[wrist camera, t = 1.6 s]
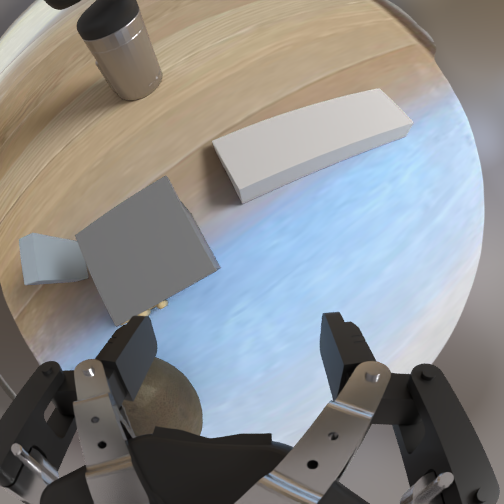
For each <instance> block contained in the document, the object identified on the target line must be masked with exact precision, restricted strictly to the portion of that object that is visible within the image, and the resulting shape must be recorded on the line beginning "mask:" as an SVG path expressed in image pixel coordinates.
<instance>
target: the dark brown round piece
mask: <svg viewBox="0 0 504 504" xmlns="http://www.w3.org/2000/svg"><path fill="white" fill-rule="evenodd" d="M122 405H123V407H124V409H125V412H126V414H127V417H128V419H129V422H130V424H131V427H132V429H133V431H134V434H135V436H136V437H137V436H141V435H145V434H153V432H154V429H155V426H158V427H164V428H171V429H179V430H184V431H187V432H190V433H193V434H196V435H199V436H200V434H201V430H202V423H203V419H202V408H201V404H200V400H199V397H198V395H197V393H196V391H195V389H194V387H193V386H192V384H191V383H190V382H189V380H188V379H187V377H186V376H185V375H184V374H183V373H181V372H180V371H179V370H178V369H177V368H175V367H174V366H172V365H171V364H169V363H167V362H165V361H163V360H161V359H159V358H156V357H155V358H154V360H153V362H152V364H151V366H150V368H149V370H148V372H147V374H146V376H145V378H144V381H143V383H142V385H141V387H140V389H139V391H138V393H137V395H136V397H135V400H134V402H133V401H127V400H124V401H123V403H122Z"/></svg>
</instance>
